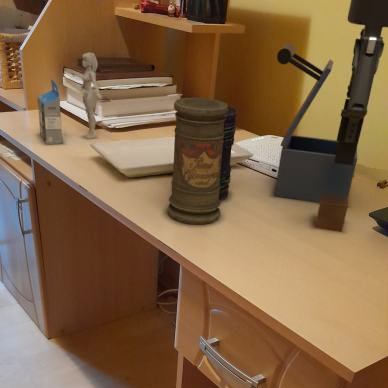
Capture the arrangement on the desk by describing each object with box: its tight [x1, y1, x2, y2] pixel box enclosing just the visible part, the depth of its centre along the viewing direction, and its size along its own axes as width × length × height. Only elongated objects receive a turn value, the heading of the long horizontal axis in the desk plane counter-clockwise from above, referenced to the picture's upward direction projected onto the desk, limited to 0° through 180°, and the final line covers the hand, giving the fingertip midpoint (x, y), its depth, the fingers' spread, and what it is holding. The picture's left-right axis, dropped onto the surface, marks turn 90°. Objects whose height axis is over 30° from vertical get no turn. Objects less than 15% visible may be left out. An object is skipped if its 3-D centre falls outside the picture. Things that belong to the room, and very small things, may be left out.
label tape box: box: [37, 78, 63, 145], centre depth 118 cm, size 9×4×12 cm, turn 23°
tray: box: [89, 135, 254, 178], centre depth 111 cm, size 17×32×4 cm, turn 119°
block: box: [314, 193, 349, 232], centre depth 89 cm, size 4×4×4 cm
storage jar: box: [219, 105, 238, 202], centre depth 94 cm, size 10×10×15 cm
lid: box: [276, 43, 334, 147], centre depth 94 cm, size 14×12×9 cm
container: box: [167, 97, 229, 225], centre depth 84 cm, size 9×9×18 cm
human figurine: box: [79, 51, 104, 139], centre depth 120 cm, size 12×4×18 cm, turn 29°
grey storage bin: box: [274, 134, 358, 204], centre depth 101 cm, size 14×12×9 cm
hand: (343, 152), depth 83 cm, fingers open, 13 cm apart
